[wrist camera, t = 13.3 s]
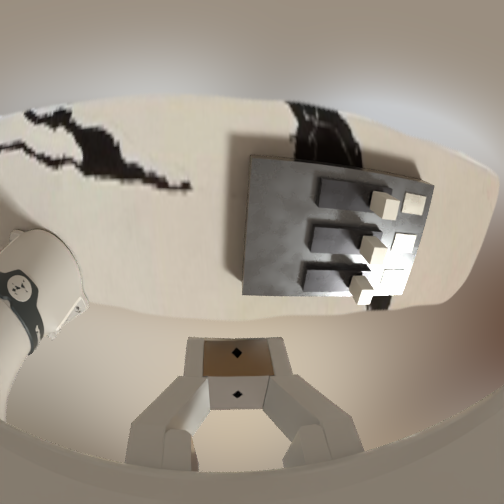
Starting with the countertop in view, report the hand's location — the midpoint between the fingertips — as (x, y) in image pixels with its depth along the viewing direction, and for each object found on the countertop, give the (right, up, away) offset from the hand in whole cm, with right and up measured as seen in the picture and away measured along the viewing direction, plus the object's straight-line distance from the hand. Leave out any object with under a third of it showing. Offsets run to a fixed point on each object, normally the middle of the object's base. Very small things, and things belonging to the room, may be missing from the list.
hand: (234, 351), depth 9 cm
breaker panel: (+12, +6, +26) cm, 29 cm away
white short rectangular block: (+14, -1, +25) cm, 29 cm away
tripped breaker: (+15, +9, +20) cm, 26 cm away
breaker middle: (+15, +4, +22) cm, 27 cm away
